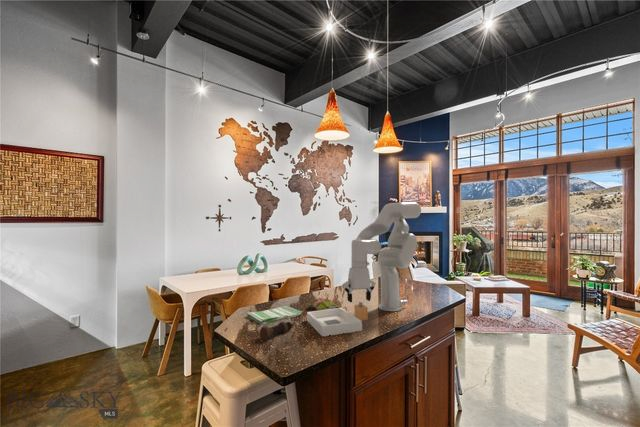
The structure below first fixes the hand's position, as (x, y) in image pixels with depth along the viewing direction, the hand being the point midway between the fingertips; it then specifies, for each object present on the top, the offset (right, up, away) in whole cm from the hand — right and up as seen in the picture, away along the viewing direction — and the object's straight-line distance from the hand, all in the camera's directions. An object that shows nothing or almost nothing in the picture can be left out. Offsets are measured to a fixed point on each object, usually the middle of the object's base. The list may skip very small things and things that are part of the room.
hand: (359, 301), depth 143 cm
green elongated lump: (-16, -10, +15) cm, 24 cm away
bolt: (-36, -9, -18) cm, 42 cm away
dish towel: (-42, -10, +8) cm, 44 cm away
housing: (-13, -8, -9) cm, 18 cm away
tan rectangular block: (+1, -9, 0) cm, 9 cm away
